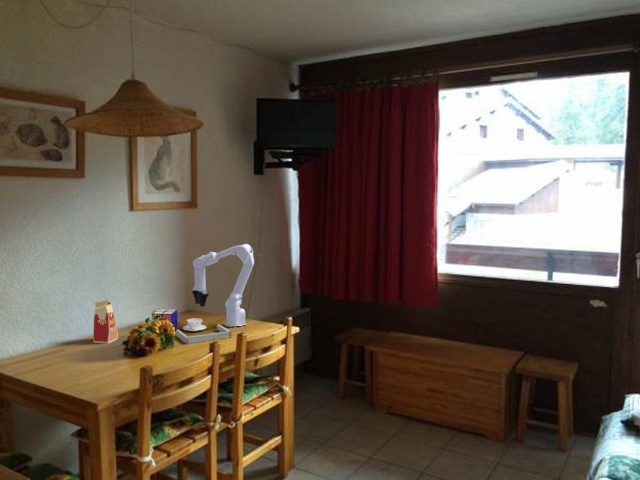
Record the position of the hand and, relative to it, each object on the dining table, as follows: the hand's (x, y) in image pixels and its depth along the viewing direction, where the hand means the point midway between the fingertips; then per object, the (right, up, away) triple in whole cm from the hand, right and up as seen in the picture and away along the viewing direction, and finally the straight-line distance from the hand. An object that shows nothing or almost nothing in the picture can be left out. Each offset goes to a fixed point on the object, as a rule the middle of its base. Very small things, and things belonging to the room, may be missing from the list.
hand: (200, 305), depth 288 cm
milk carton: (-38, -13, -32) cm, 52 cm away
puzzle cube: (-15, -12, -13) cm, 23 cm away
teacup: (0, -12, -11) cm, 16 cm away
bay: (+7, -13, -23) cm, 27 cm away
